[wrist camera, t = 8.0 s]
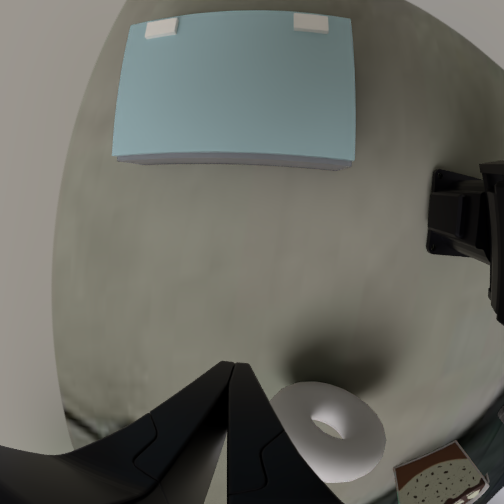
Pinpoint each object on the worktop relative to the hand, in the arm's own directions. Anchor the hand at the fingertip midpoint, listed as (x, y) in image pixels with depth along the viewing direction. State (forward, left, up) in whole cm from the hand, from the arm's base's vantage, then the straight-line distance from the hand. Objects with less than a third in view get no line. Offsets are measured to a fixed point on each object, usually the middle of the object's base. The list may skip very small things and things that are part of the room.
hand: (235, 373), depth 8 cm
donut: (-6, +11, -13) cm, 18 cm away
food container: (-24, +27, -13) cm, 38 cm away
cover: (+2, -12, -9) cm, 15 cm away
